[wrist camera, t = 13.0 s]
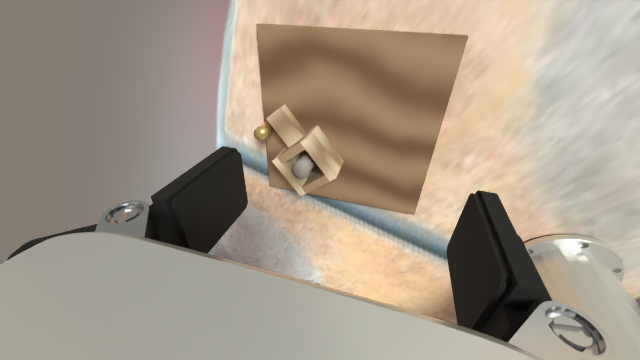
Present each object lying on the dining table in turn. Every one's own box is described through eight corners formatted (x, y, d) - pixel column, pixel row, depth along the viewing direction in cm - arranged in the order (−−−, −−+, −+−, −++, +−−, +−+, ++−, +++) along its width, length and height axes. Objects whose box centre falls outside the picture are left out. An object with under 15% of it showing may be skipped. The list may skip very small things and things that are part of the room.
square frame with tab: (343, 161, 35) (336, 178, 32) (311, 179, 38) (300, 196, 35) (296, 95, 32) (281, 105, 29) (264, 120, 35) (248, 132, 32)
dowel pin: (277, 131, 36) (265, 141, 33) (266, 130, 36) (254, 139, 33) (276, 120, 35) (264, 129, 32) (265, 118, 35) (253, 127, 32)
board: (414, 209, 37) (414, 239, 32) (273, 181, 42) (254, 204, 37) (466, 35, 25) (480, 39, 20) (261, 23, 30) (231, 25, 25)
